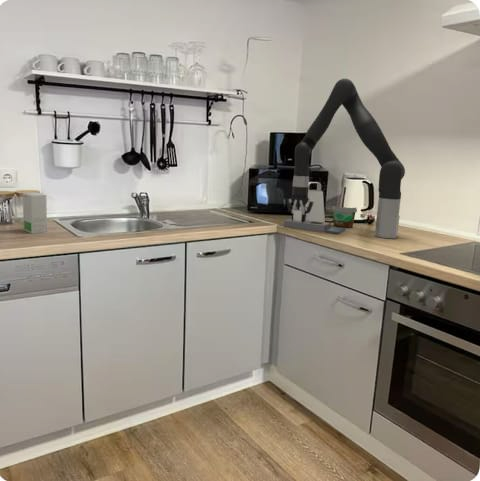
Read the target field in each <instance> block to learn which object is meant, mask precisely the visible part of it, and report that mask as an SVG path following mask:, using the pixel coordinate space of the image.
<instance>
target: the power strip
mask: <svg viewBox="0 0 480 481" xmlns="http://www.w3.org/2000/svg"><path fill="white" fill-rule="evenodd" d="M283 227H284V228H289V229H297V230H306V231H312V232H314V231H315V232H320V233H322V232H323V233H325V231H326V230H328V229H330V228H331V222H326V221H325V222H318V221H309V220H305V221H304V222H296V221H293V220H292V217H291V218H289V219H285V220H284V221H283Z"/></svg>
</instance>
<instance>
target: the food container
mask: <svg viewBox="0 0 480 481" xmlns="http://www.w3.org/2000/svg"><path fill="white" fill-rule="evenodd" d="M331 210H332V211H333V216H332V217H333V227H338V228H346V229H353V226H354V221H355V217H356V213H357V212H358V209H357V207H340V206H335V205H333V206H332V209H331Z"/></svg>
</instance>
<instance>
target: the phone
mask: <svg viewBox="0 0 480 481" xmlns="http://www.w3.org/2000/svg"><path fill="white" fill-rule="evenodd" d="M346 229H347V228H339V227H335V226H332V227H330V229H328V230H326V231H325V232H324V233H325V234H331V235H340V234H341V233H344V232H345V231H346Z"/></svg>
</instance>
